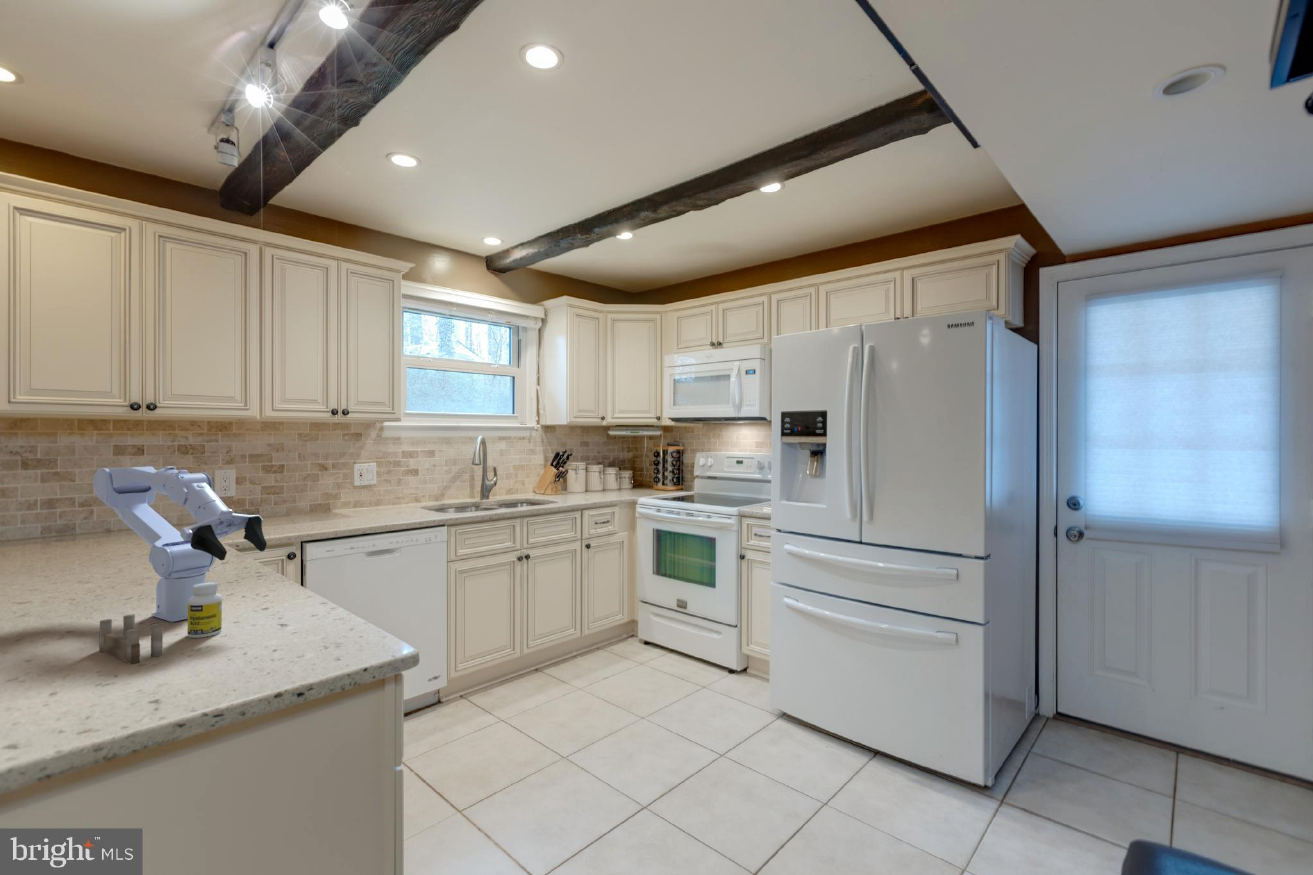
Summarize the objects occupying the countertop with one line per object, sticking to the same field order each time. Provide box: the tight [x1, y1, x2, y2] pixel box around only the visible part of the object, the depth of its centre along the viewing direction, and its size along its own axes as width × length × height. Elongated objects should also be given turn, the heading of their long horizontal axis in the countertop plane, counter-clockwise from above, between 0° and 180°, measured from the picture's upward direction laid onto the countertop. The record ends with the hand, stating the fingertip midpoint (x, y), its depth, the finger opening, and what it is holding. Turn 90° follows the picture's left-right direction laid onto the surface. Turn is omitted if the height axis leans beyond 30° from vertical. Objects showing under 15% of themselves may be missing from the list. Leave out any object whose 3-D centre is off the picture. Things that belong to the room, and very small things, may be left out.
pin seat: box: [98, 613, 164, 665], centre depth 107 cm, size 13×5×6 cm, turn 62°
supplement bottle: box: [187, 582, 223, 639], centre depth 117 cm, size 5×5×10 cm
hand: (244, 551), depth 120 cm, fingers open, 7 cm apart
